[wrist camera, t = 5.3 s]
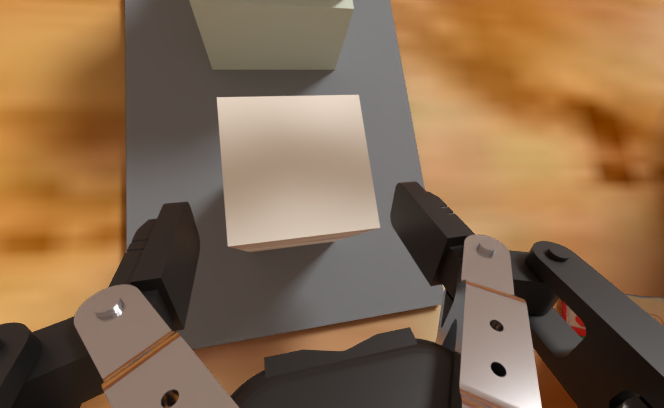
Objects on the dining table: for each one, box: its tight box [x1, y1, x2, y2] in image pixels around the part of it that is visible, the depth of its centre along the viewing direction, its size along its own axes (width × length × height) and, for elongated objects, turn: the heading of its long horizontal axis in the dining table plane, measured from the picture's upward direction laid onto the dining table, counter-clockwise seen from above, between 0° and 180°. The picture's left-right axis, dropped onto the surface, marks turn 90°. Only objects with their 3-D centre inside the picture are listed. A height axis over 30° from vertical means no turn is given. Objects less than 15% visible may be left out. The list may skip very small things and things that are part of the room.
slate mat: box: [125, 0, 444, 350], centre depth 19 cm, size 28×18×1 cm, turn 7°
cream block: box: [217, 95, 380, 252], centre depth 14 cm, size 5×5×8 cm
